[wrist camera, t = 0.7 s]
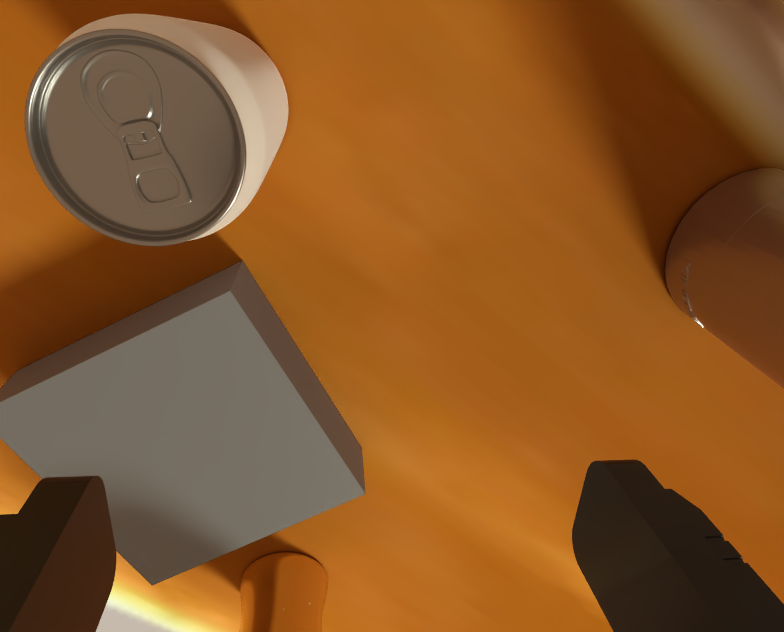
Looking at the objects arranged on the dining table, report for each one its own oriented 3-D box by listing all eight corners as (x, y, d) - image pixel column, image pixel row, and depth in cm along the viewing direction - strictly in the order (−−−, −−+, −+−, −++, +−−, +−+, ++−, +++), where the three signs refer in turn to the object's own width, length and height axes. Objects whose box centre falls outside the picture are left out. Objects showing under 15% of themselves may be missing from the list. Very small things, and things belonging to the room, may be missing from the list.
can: (265, 9, 24) (214, -19, 13) (306, 158, 27) (290, 232, 16) (119, 43, 24) (-48, 41, 13) (176, 188, 27) (75, 283, 16)
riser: (242, 260, 29) (230, 290, 25) (361, 448, 35) (365, 493, 31) (17, 370, 30) (-25, 414, 27) (169, 532, 36) (152, 585, 33)
